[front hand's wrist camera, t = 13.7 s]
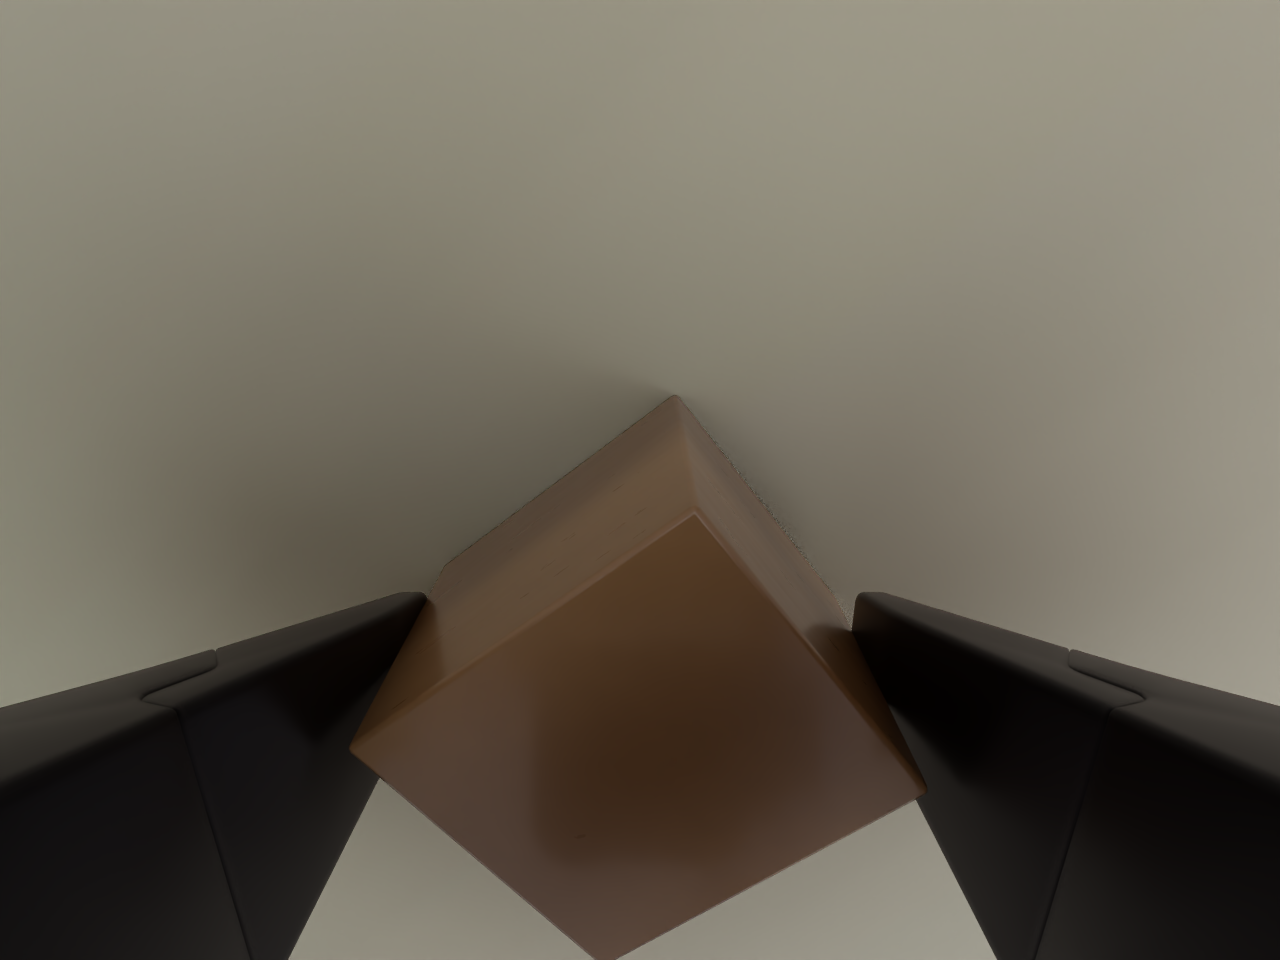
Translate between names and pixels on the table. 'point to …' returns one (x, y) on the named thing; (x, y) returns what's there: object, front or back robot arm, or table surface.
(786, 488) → the table surface
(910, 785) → the block
